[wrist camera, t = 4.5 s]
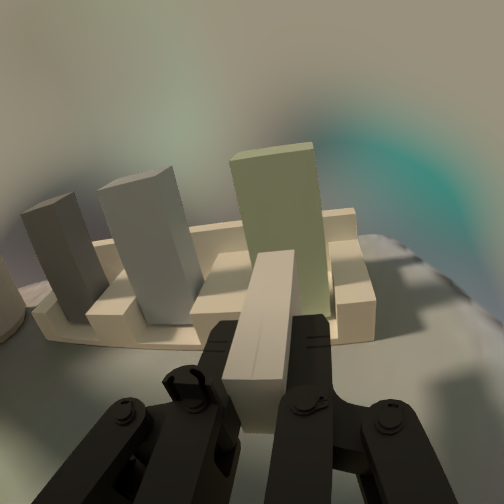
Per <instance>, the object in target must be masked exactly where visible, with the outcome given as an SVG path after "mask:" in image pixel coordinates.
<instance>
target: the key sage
mask: <svg viewBox="0 0 504 504" xmlns="http://www.w3.org/2000/svg"><path fill="white" fill-rule="evenodd" d="M229 164H230V168H231V173H232V177H233V182H234V186H235V191H236V196H237V201H238V205H239V210H240V214H241V219H242V224H243V229H244V233H245V238H246V242H247V247H248V252H249V256H250V261H251V265H252V270H253V269H254V265H255V262H256V258H257V255H258V253H263V252H273V251H284V250H295V257H296V264H297V271H298V279H299V286H300V294H301V302H302V309H301V315H313V314H323V315H324V316H325V317H330V316H331V314H330V297H329V283H328V270H327V258H326V247H325V236H324V226H323V217H322V208H321V199H320V191H319V183H318V176H317V169H316V161H315V154H314V148H313V144H312V142H307V143H306V142H305V143H298V144H290V145H283V146H276V147H268V148H262V149H255V150H250V151H243V152H238V153H237V154H236V155H235V156H234V157H233V158H232V159H231V160H230V161H229Z"/></svg>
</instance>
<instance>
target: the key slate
mask: <svg viewBox="0 0 504 504" xmlns="http://www.w3.org/2000/svg"><path fill="white" fill-rule="evenodd" d="M97 194H98V197H99V200H100V203H101V206H102V209H103V212H104V215H105V218H106V221H107V224H108V226H109V229H110V232H111V235H112V237H113V240H114V243H115V246H116V248H117V251H118V254H119V256H120V259H121V261H122V264H123V267H124V269H125V272H126V274H127V276H128V279H129V281H130V284H131V286H132V288H133V291H134V293H135V296H136V298H137V300H138V302H139V305H140V307H141V309H142V311H143V314H144V316H145V318H146V320H147V322H148V324H193V323H192V320H191V317H190V315H189V313H190V311H191V309H192V307H193V305H194V303H195V301H196V299H197V297H198V295H199V293H200V290H201V288H202V286H203V284H204V282H205V281H204V278H203V274H202V271H201V268H200V264H199V261H198V258H197V254H196V251H195V247H194V244H193V241H192V237H191V234H190V230H189V227H188V223H187V220H186V216H185V212H184V209H183V205H182V201H181V198H180V194H179V190H178V186H177V183H176V179H175V175H174V171H173V167H172V166H167V167H163V168H159V169H155V170H151V171H146V172H142V173H138V174H134V175H130V176H127V177H123V178H119V179H116V180H115V181H113V182H111V183H109V184H108V185H106V186H104V187H102V188H100V189H99V190H97Z"/></svg>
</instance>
